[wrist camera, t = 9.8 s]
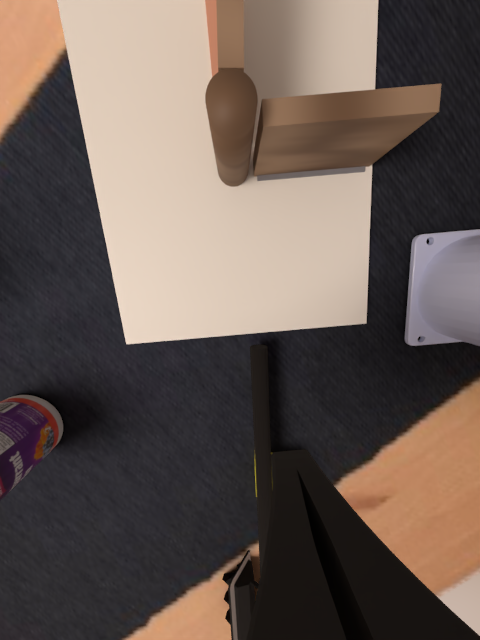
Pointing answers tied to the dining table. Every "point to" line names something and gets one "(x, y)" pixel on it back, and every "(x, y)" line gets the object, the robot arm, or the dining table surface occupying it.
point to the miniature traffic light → (243, 578)
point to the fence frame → (309, 126)
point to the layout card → (201, 170)
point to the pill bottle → (25, 436)
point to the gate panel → (230, 34)
